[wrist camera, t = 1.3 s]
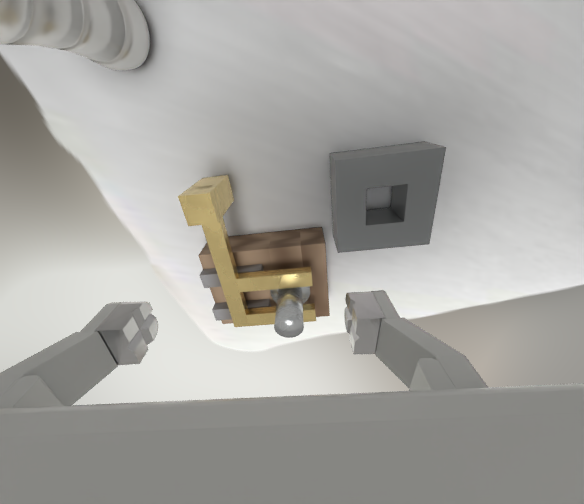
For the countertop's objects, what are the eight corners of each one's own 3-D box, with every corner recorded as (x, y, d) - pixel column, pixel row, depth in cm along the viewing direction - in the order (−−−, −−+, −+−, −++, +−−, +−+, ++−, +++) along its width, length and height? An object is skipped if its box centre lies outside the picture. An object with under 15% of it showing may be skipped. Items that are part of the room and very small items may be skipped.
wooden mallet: (301, 166, 28) (302, 181, 22) (313, 295, 37) (317, 331, 31) (202, 178, 29) (177, 196, 23) (238, 301, 38) (227, 337, 32)
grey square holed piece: (424, 141, 29) (446, 147, 25) (413, 227, 34) (429, 244, 30) (329, 153, 30) (334, 160, 26) (333, 235, 35) (337, 252, 31)
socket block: (321, 227, 35) (326, 248, 29) (326, 294, 41) (330, 322, 35) (209, 238, 36) (194, 261, 30) (230, 302, 42) (220, 331, 36)
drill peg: (306, 249, 36) (310, 307, 26) (309, 278, 39) (314, 341, 28) (271, 253, 37) (261, 311, 26) (276, 281, 39) (269, 345, 29)
